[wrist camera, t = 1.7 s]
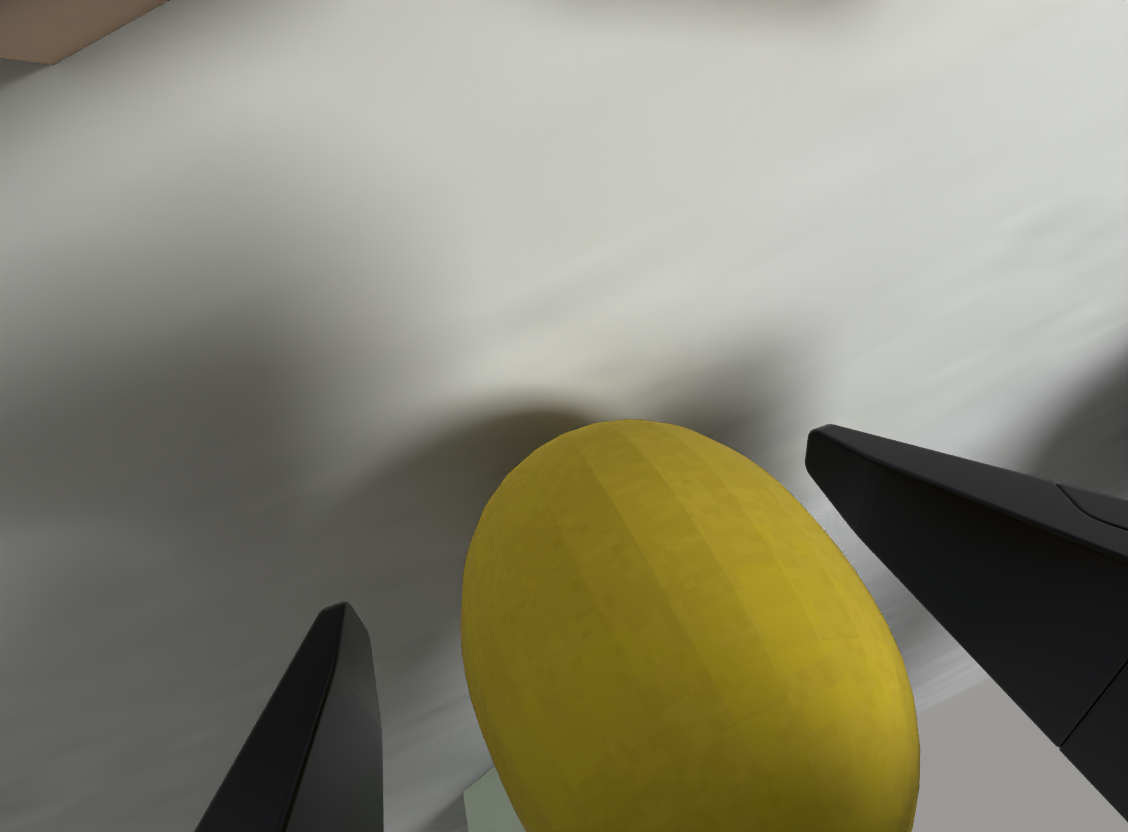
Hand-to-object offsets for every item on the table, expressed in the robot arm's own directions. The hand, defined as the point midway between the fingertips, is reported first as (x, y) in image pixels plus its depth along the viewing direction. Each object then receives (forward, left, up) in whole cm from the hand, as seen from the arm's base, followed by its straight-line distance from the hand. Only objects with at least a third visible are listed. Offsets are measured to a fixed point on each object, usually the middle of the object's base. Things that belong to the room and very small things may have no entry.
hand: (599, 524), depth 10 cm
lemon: (0, 0, -2) cm, 2 cm away
